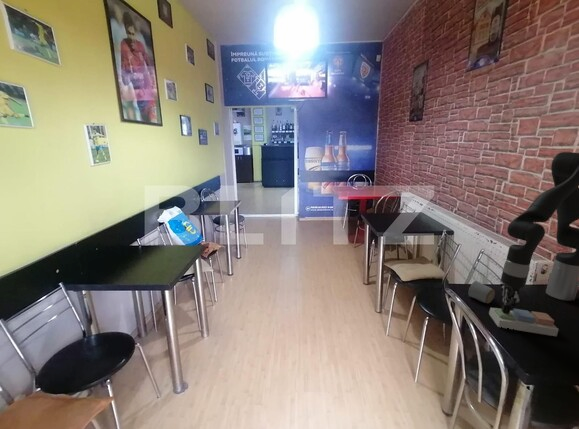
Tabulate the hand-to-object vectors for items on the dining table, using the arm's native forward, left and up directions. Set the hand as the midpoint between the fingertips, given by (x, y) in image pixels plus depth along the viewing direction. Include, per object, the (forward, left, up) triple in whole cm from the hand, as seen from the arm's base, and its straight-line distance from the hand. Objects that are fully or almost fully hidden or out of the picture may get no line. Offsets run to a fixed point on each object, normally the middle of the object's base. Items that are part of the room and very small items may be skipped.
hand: (505, 312), depth 113 cm
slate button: (-6, 0, -2) cm, 7 cm away
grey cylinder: (+2, -17, -5) cm, 18 cm away
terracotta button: (-13, 0, -2) cm, 13 cm away
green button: (0, 0, -3) cm, 3 cm away
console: (-6, 0, -4) cm, 8 cm away
